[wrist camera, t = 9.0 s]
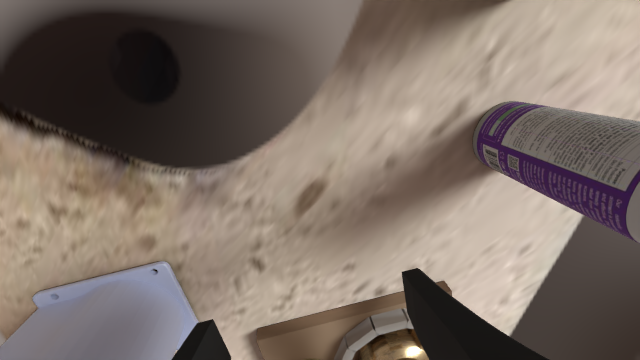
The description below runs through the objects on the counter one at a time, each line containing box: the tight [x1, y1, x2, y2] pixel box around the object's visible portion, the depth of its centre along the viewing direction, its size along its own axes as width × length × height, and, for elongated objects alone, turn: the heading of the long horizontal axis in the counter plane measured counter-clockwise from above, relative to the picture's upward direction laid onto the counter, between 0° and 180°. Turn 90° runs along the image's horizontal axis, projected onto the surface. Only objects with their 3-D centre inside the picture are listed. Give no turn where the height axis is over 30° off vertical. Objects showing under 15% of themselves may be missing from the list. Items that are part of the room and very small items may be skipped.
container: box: [473, 101, 640, 243], centre depth 14 cm, size 5×5×15 cm
